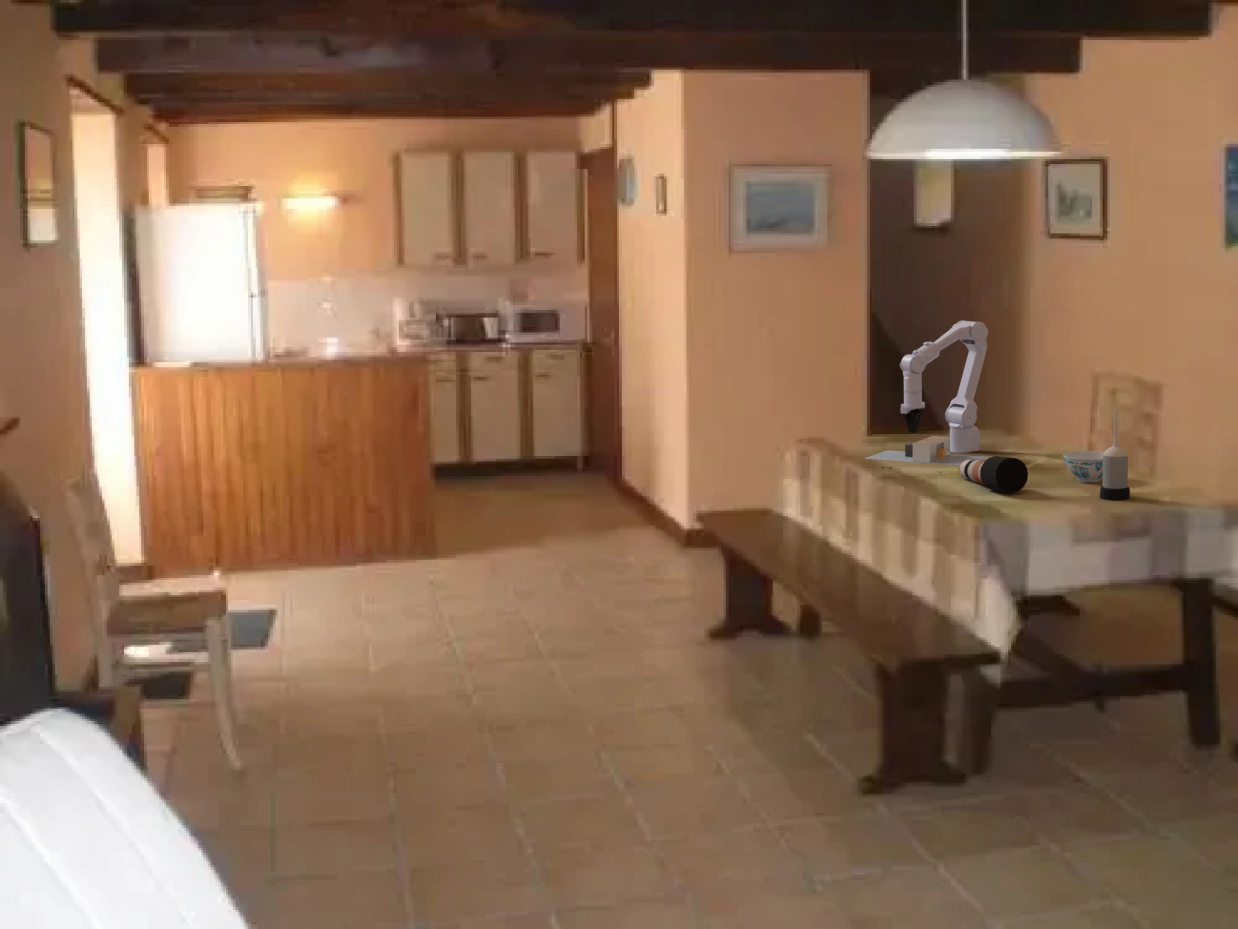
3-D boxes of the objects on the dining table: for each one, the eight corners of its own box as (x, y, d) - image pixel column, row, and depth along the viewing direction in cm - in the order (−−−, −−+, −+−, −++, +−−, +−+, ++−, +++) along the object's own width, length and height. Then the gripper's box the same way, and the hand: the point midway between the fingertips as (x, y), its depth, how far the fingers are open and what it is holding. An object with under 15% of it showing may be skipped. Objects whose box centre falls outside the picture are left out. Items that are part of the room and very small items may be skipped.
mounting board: (997, 459, 504) (997, 457, 504) (975, 469, 490) (975, 466, 490) (887, 452, 527) (887, 450, 526) (863, 460, 512) (863, 458, 512)
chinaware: (1052, 479, 468) (1052, 454, 467) (1092, 474, 474) (1092, 449, 473) (1085, 487, 455) (1086, 461, 453) (1126, 481, 460) (1126, 455, 459)
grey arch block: (950, 454, 513) (950, 436, 511) (930, 462, 500) (929, 444, 499) (933, 453, 516) (933, 435, 515) (912, 461, 503) (912, 443, 502)
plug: (946, 457, 508) (946, 445, 507) (941, 459, 505) (941, 447, 504) (910, 454, 516) (910, 442, 515) (905, 456, 512) (905, 444, 512)
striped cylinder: (968, 490, 480) (981, 460, 480) (1019, 498, 447) (1033, 465, 447) (940, 477, 478) (953, 447, 478) (990, 484, 444) (1003, 452, 445)
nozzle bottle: (1121, 494, 442) (1122, 407, 438) (1135, 499, 434) (1137, 410, 430) (1094, 496, 441) (1095, 408, 437) (1108, 501, 433) (1109, 412, 429)
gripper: (910, 388, 516) (911, 428, 518) (891, 393, 504) (892, 435, 507) (930, 389, 512) (930, 429, 514) (912, 394, 500) (912, 436, 503)
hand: (913, 432), depth 510 cm, fingers closed
